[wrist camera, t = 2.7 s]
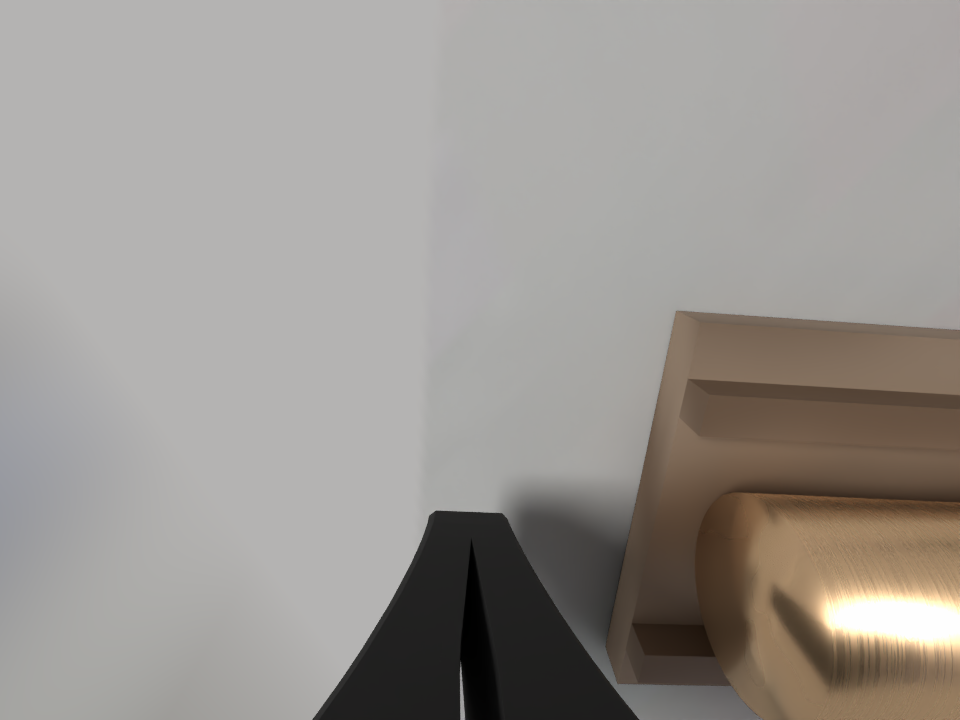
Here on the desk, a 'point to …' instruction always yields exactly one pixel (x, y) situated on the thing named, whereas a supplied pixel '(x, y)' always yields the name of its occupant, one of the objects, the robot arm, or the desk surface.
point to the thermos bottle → (834, 605)
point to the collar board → (773, 454)
